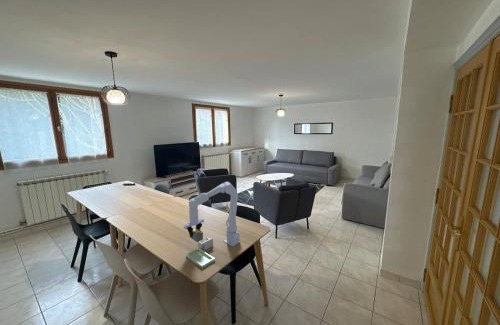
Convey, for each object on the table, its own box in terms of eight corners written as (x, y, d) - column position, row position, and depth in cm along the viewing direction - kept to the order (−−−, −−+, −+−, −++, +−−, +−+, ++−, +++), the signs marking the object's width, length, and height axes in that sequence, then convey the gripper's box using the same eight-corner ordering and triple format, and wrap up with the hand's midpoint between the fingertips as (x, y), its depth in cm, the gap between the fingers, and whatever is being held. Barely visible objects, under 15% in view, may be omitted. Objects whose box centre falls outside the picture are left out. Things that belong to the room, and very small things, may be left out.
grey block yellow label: (202, 239, 134) (202, 231, 133) (197, 242, 131) (196, 234, 130) (195, 234, 140) (195, 226, 139) (189, 237, 137) (189, 229, 136)
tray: (215, 260, 123) (214, 258, 123) (202, 268, 116) (201, 266, 116) (198, 250, 134) (198, 247, 134) (186, 256, 127) (185, 254, 127)
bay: (212, 246, 139) (212, 238, 138) (203, 251, 133) (203, 243, 132) (207, 243, 143) (207, 235, 142) (198, 247, 137) (197, 239, 136)
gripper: (199, 211, 142) (200, 229, 145) (180, 218, 132) (181, 237, 134) (205, 214, 138) (206, 232, 140) (186, 221, 127) (187, 240, 129)
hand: (194, 235), depth 137 cm, fingers closed on grey block yellow label, 5 cm apart
